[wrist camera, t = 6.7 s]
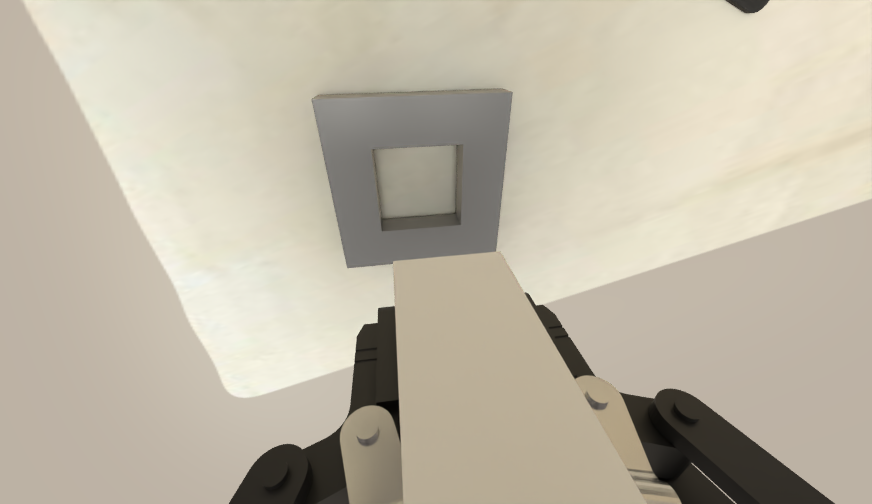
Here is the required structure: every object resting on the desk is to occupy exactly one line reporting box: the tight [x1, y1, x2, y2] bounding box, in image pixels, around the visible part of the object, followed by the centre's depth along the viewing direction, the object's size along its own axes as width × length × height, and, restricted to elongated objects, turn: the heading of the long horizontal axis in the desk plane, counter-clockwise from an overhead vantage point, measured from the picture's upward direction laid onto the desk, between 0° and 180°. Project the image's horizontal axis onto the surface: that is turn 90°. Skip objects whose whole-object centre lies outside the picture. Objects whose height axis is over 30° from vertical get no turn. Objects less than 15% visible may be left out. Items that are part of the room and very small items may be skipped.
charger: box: [393, 251, 647, 504], centre depth 9 cm, size 4×4×8 cm
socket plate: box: [312, 89, 513, 268], centre depth 23 cm, size 12×12×2 cm
